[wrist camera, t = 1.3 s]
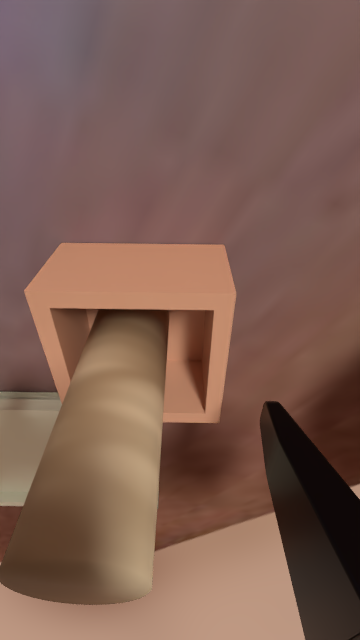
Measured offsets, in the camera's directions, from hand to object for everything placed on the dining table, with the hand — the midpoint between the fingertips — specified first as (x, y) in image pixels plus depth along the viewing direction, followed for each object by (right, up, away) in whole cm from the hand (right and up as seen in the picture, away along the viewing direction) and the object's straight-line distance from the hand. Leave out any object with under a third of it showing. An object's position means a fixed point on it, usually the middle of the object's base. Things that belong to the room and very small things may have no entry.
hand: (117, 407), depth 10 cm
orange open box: (0, +3, +4) cm, 5 cm away
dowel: (0, +3, +4) cm, 5 cm away
